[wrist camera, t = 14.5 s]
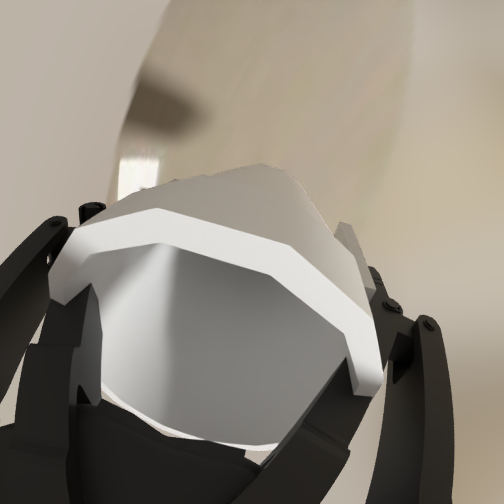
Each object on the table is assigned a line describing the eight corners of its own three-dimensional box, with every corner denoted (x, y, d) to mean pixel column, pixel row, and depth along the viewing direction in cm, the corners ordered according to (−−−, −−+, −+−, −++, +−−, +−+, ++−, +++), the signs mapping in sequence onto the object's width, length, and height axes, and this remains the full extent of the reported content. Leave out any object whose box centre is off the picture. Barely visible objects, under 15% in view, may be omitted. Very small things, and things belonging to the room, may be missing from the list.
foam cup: (227, 114, 15) (57, 129, 4) (360, 187, 16) (460, 343, 4) (175, 236, 20) (63, 371, 8) (285, 293, 20) (262, 463, 9)
